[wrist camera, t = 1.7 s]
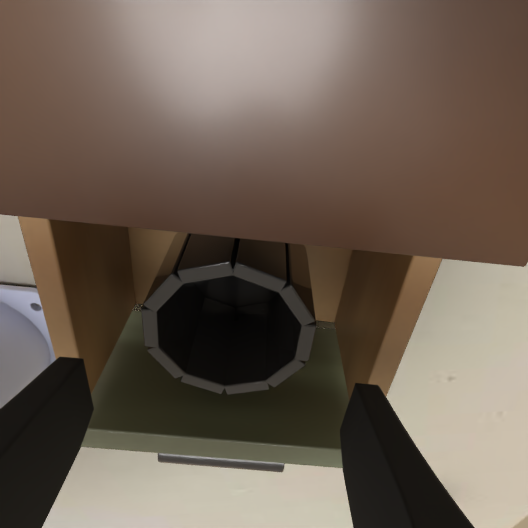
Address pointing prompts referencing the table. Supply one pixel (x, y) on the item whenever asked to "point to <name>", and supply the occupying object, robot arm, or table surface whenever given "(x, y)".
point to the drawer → (222, 405)
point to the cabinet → (273, 120)
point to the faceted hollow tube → (230, 312)
